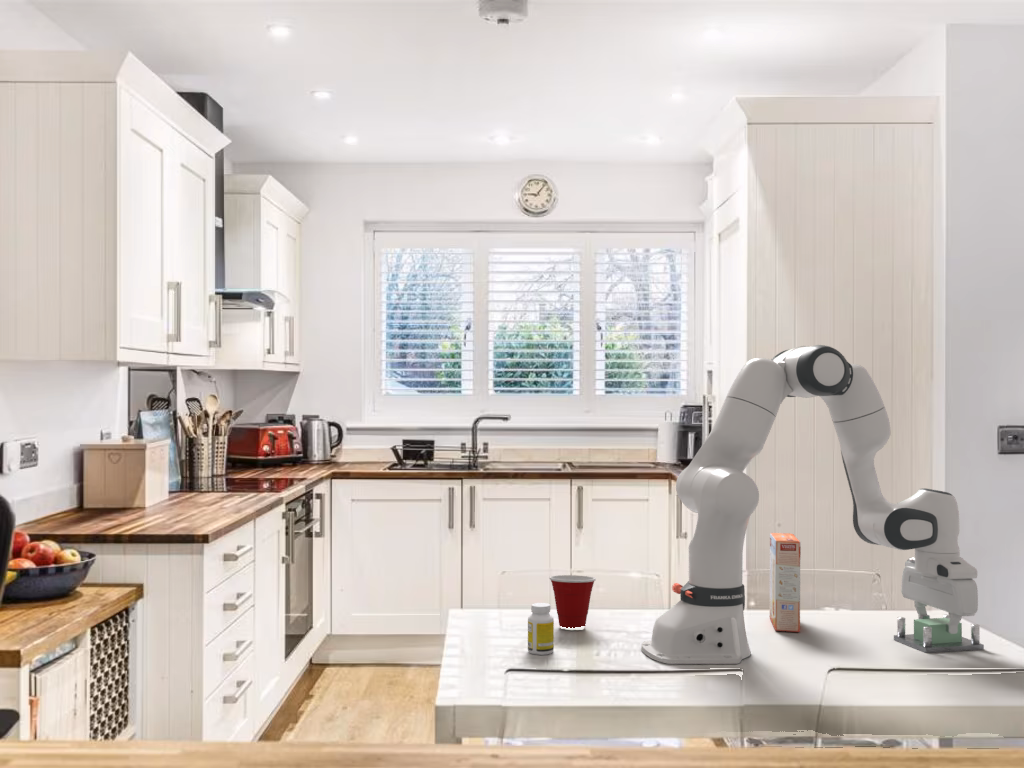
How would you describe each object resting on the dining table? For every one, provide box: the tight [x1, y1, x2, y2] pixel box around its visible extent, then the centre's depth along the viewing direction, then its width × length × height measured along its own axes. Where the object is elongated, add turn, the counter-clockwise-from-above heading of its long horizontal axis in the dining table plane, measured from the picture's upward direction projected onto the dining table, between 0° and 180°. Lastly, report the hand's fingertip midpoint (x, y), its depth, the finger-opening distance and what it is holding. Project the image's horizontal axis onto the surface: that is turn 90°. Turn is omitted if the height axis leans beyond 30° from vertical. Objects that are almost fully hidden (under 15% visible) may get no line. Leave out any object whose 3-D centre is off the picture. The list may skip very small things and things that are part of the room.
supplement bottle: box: [527, 602, 555, 656], centre depth 183 cm, size 5×5×10 cm
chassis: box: [893, 614, 985, 654], centre depth 190 cm, size 14×11×5 cm
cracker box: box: [769, 532, 802, 633], centre depth 207 cm, size 14×6×21 cm, turn 168°
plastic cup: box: [548, 574, 597, 628], centre depth 203 cm, size 11×11×12 cm
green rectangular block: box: [913, 617, 963, 644], centre depth 190 cm, size 8×5×4 cm, turn 103°
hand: (937, 627), depth 190 cm, fingers open, 7 cm apart
